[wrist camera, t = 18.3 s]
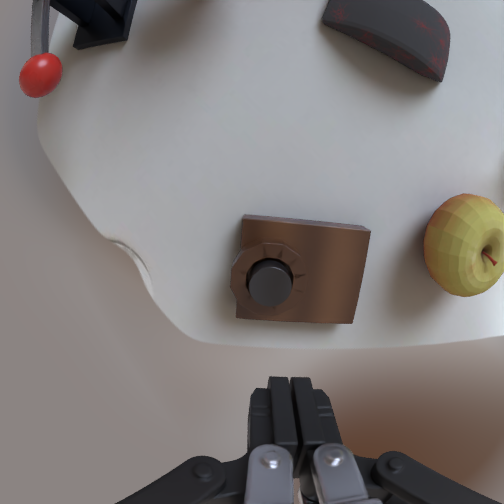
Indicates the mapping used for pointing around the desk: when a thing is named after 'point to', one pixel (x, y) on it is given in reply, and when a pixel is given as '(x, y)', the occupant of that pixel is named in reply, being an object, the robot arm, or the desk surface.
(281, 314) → the button block
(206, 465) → the robot arm
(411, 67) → the computer mouse
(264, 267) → the button
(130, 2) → the bracket
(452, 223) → the apple
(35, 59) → the lever
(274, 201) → the desk surface
